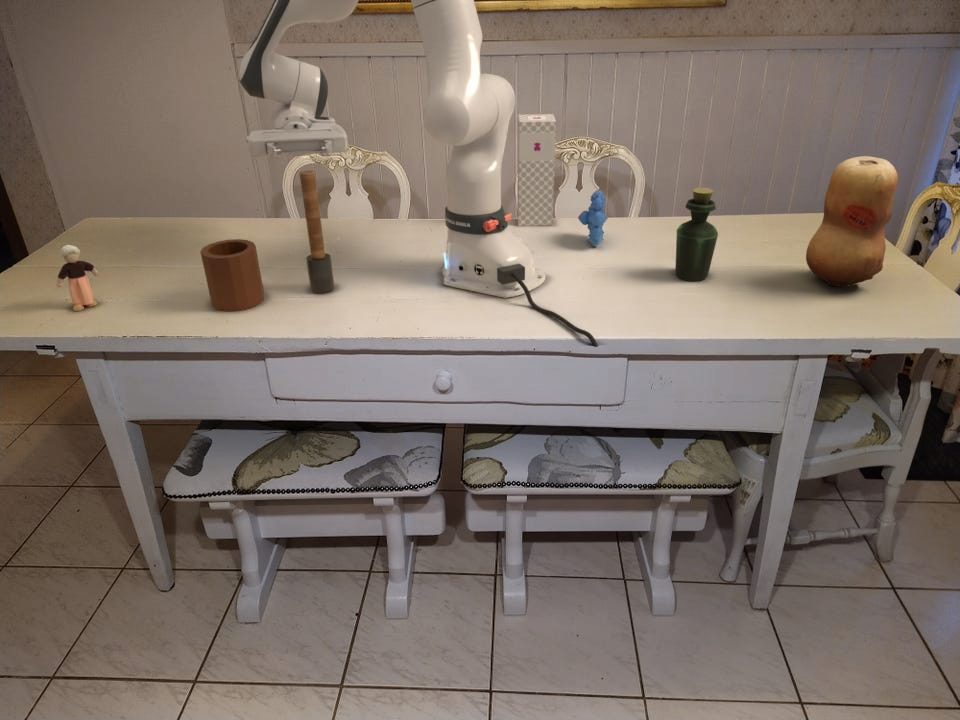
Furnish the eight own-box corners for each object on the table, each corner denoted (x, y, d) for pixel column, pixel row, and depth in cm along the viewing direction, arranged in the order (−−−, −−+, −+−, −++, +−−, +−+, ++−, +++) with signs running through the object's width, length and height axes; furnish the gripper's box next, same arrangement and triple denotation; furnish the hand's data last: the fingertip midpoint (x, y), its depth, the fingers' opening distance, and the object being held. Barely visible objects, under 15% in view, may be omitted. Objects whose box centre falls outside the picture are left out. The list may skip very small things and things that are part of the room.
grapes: (577, 233, 175) (579, 184, 169) (605, 234, 174) (608, 184, 168) (576, 251, 165) (578, 199, 159) (606, 251, 164) (610, 199, 158)
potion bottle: (718, 274, 152) (731, 189, 143) (699, 286, 147) (712, 199, 138) (683, 264, 157) (694, 182, 148) (663, 276, 152) (673, 191, 143)
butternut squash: (801, 292, 144) (829, 165, 131) (800, 267, 155) (825, 148, 142) (879, 301, 139) (915, 171, 127) (872, 275, 150) (905, 152, 138)
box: (517, 214, 188) (518, 114, 176) (550, 214, 188) (553, 114, 176) (518, 225, 181) (519, 122, 168) (552, 225, 181) (556, 121, 168)
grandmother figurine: (74, 314, 140) (54, 253, 134) (63, 310, 142) (42, 249, 136) (110, 300, 146) (92, 240, 140) (99, 296, 148) (81, 236, 142)
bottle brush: (339, 288, 149) (325, 171, 138) (321, 295, 146) (304, 177, 134) (324, 282, 152) (309, 167, 140) (306, 289, 149) (288, 173, 137)
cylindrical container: (274, 298, 145) (265, 246, 140) (231, 316, 139) (219, 262, 133) (245, 286, 151) (235, 235, 146) (202, 302, 145) (190, 250, 139)
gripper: (243, 121, 153) (246, 140, 142) (341, 117, 159) (351, 135, 148) (247, 151, 157) (250, 171, 146) (342, 146, 162) (352, 165, 151)
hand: (302, 153), depth 147 cm, fingers open, 8 cm apart
